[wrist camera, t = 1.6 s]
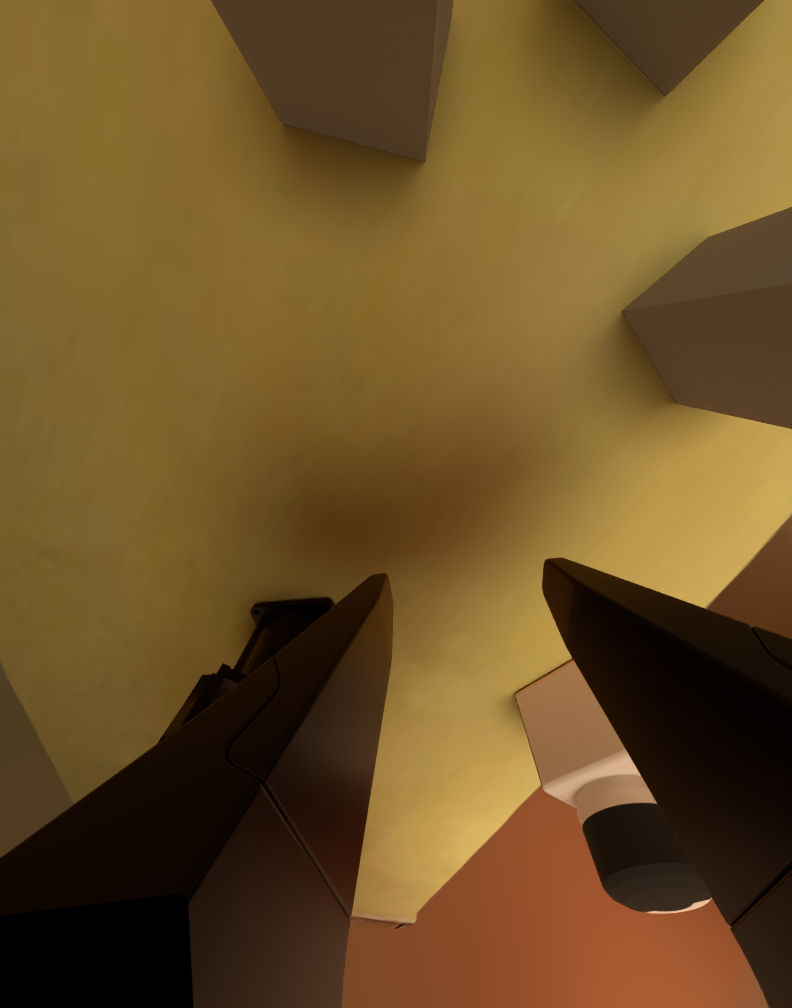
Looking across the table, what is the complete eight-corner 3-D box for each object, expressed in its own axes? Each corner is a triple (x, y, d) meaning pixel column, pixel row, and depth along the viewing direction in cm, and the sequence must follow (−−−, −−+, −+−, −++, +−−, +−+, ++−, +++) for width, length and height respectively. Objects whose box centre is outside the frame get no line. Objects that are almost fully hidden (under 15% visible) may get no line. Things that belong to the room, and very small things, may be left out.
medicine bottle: (512, 692, 29) (573, 900, 18) (580, 653, 26) (698, 868, 15) (562, 725, 30) (644, 931, 20) (630, 691, 28) (767, 907, 17)
